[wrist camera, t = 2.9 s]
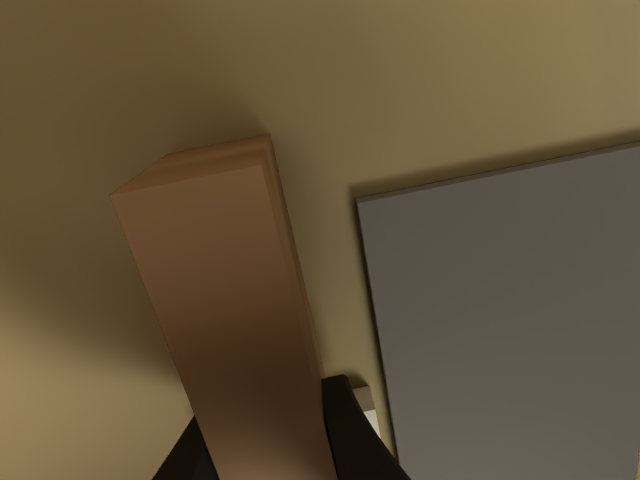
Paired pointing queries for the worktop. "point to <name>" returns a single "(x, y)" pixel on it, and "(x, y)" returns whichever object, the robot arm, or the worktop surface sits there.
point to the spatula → (234, 307)
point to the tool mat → (512, 319)
